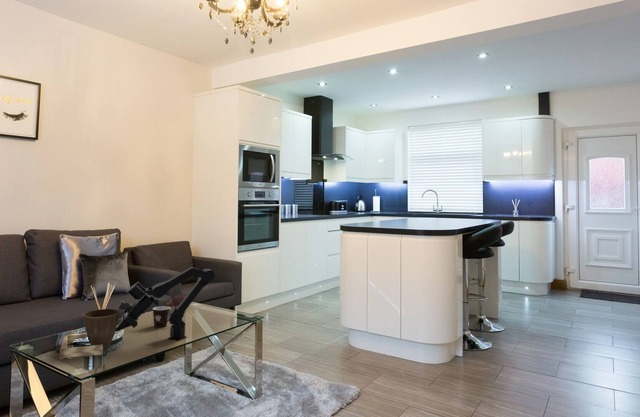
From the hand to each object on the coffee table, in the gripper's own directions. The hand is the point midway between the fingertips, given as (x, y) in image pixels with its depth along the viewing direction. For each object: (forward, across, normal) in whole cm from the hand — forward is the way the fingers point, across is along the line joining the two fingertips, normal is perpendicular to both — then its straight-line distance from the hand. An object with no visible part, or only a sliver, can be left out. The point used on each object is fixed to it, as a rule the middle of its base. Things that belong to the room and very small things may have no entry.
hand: (115, 330), depth 191 cm
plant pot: (+9, 0, +1) cm, 9 cm away
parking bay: (+14, 0, -5) cm, 15 cm away
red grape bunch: (-22, -58, +32) cm, 70 cm away
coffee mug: (-12, -24, +22) cm, 34 cm away
